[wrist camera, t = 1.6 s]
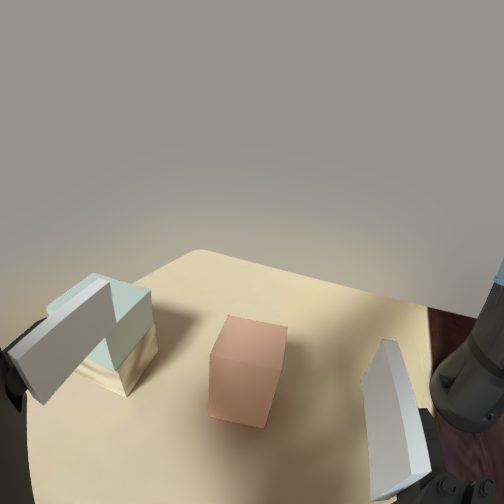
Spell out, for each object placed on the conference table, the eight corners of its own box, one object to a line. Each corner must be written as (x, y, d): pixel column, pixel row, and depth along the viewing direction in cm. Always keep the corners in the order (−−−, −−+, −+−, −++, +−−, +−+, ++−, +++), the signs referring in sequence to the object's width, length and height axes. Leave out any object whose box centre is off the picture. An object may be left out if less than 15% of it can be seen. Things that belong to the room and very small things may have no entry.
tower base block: (126, 398, 25) (117, 370, 23) (71, 370, 26) (59, 341, 24) (158, 351, 33) (155, 323, 31) (106, 332, 35) (99, 304, 33)
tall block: (263, 428, 24) (281, 370, 21) (209, 416, 25) (209, 354, 21) (271, 389, 30) (287, 326, 26) (223, 378, 31) (228, 315, 27)
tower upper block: (114, 371, 23) (104, 335, 21) (57, 341, 24) (45, 306, 22) (153, 324, 31) (150, 289, 29) (99, 305, 33) (93, 272, 31)
